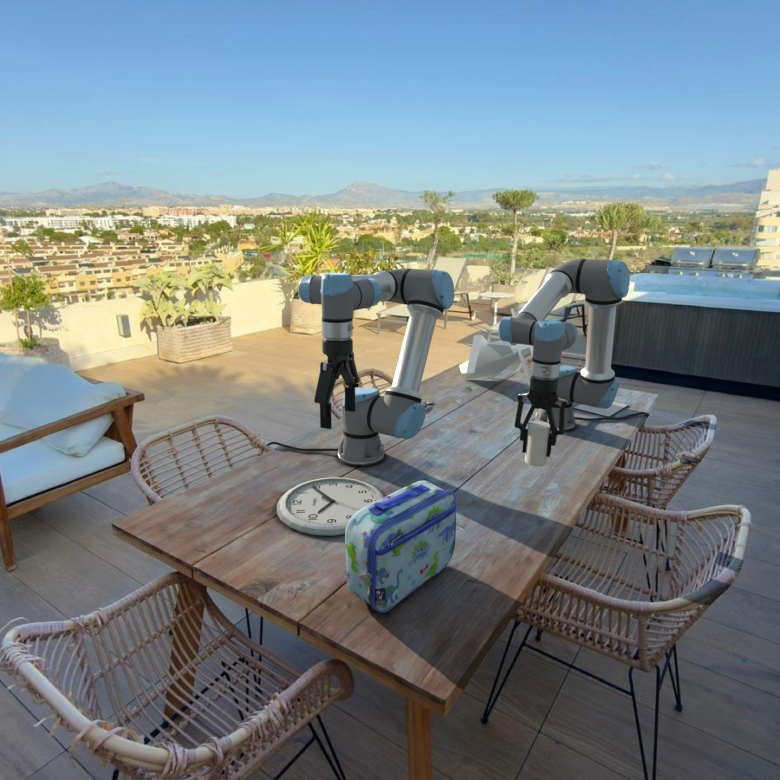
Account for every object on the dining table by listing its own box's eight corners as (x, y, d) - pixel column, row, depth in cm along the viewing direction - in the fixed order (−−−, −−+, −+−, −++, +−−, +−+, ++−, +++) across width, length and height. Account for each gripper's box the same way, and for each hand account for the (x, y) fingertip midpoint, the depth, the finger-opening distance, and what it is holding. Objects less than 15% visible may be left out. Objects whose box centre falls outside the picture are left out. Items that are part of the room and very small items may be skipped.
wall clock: (392, 527, 129) (268, 531, 127) (391, 533, 130) (269, 537, 127) (383, 473, 158) (282, 475, 155) (383, 478, 158) (282, 480, 156)
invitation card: (608, 416, 214) (573, 407, 224) (608, 416, 214) (573, 408, 224) (628, 404, 229) (594, 396, 238) (628, 405, 229) (594, 397, 238)
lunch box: (374, 626, 100) (375, 530, 93) (338, 598, 107) (337, 508, 101) (459, 568, 117) (465, 484, 111) (424, 547, 124) (427, 467, 118)
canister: (522, 463, 151) (526, 426, 148) (526, 455, 157) (530, 419, 153) (544, 468, 149) (549, 430, 145) (547, 459, 154) (552, 422, 151)
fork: (417, 411, 216) (418, 406, 216) (428, 400, 231) (428, 395, 230) (423, 412, 215) (424, 407, 215) (434, 400, 230) (434, 396, 229)
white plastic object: (480, 421, 262) (459, 398, 238) (462, 347, 285) (440, 320, 260) (552, 397, 250) (537, 370, 226) (527, 322, 272) (511, 290, 248)
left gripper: (326, 349, 116) (328, 438, 122) (371, 330, 138) (371, 406, 144) (297, 346, 118) (300, 433, 125) (346, 328, 140) (346, 402, 147)
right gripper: (507, 375, 145) (500, 452, 152) (580, 384, 138) (569, 464, 145) (512, 369, 152) (505, 442, 159) (582, 377, 145) (572, 454, 152)
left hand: (338, 419), depth 134 cm, fingers open, 13 cm apart
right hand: (536, 452), depth 152 cm, fingers closed on canister, 6 cm apart
